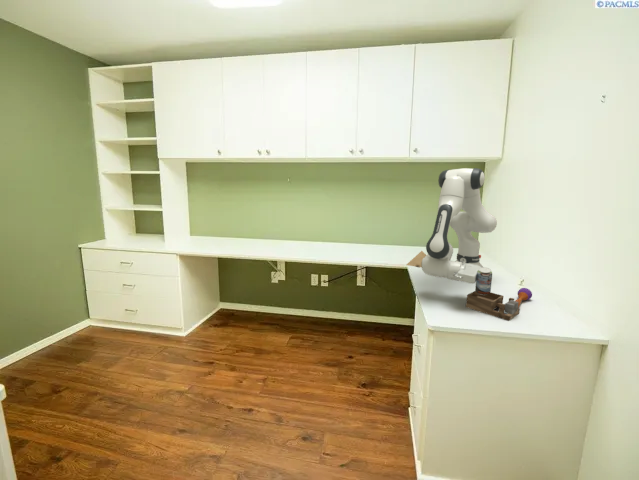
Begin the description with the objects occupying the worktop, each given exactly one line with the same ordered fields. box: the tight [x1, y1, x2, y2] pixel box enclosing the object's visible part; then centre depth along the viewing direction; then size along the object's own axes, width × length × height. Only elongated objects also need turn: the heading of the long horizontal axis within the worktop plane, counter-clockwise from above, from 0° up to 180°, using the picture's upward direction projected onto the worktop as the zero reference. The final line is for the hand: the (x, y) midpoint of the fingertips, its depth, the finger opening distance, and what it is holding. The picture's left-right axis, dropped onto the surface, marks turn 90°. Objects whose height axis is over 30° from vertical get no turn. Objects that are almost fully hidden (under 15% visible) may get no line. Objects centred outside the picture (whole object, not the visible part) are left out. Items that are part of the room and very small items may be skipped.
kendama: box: [515, 287, 533, 309], centre depth 150 cm, size 6×6×20 cm
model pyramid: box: [406, 250, 427, 268], centre depth 216 cm, size 17×17×10 cm
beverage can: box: [474, 266, 493, 295], centre depth 140 cm, size 6×7×12 cm
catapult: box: [465, 290, 521, 322], centre depth 141 cm, size 12×18×6 cm, turn 41°
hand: (489, 276), depth 140 cm, fingers closed on beverage can
